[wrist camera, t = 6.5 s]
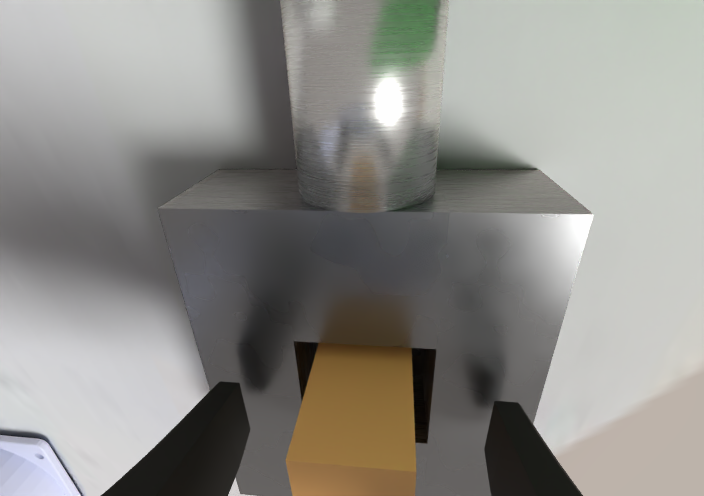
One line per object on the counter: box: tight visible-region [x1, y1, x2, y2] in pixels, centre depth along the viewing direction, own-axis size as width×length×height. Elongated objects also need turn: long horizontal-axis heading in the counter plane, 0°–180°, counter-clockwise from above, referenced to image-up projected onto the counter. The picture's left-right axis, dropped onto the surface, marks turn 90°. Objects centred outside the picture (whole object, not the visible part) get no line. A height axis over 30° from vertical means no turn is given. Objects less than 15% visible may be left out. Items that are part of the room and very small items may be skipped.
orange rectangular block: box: [286, 343, 416, 496], centre depth 11 cm, size 3×3×6 cm
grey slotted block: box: [157, 0, 594, 496], centre depth 12 cm, size 17×11×4 cm, turn 2°
